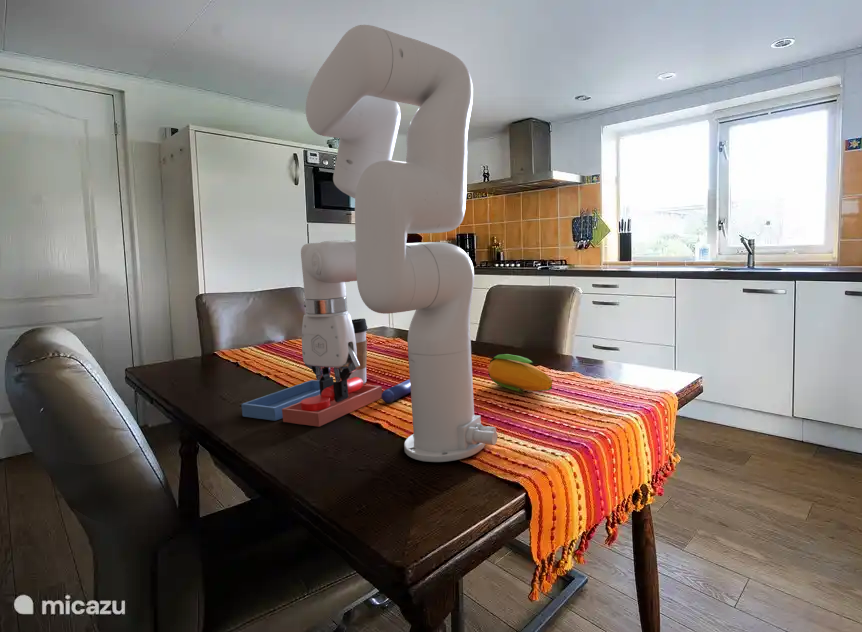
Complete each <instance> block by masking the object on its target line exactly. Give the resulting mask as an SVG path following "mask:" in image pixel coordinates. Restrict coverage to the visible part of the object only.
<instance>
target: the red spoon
mask: <svg viewBox="0 0 862 632" xmlns="http://www.w3.org/2000/svg"><path fill="white" fill-rule="evenodd" d="M363 385H364V384H363V381H362V379H361V378H359V377H354V378H351V379H348V380H347V386H348V394H350V393H352V392H355V391H357V390H359V389H361V388H362V386H363ZM334 396H335V395H334V387H333V385H332V386H330V387H327V388H325V389H324V390H323V391H322V393H321V396H314V397H309V398H306V399H303V400H302V401H301V409H302V410H304V411H318V410H323V409H326V408H328V407H329V406H330V405H331V403H330V401H333V400H335V398H334Z"/></svg>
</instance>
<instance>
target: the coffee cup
mask: <svg viewBox="0 0 862 632" xmlns="http://www.w3.org/2000/svg"><path fill="white" fill-rule="evenodd" d="M351 320H352V324H353V328H354V333H355V339H356V348H357V360H358V362H359V364H360V368H359V369H357V370H355V371H353V372H352V374H351V375H350V378H349V379H351V378H354V377H359V378H361V379H362V381H363V385H365V383H367V362H368V361H367V354H368V339H367V332H368V330H369V329H368V325H367V321H366V318H353V319H351ZM348 366H349V363H348ZM340 369H341V372H342V368H340ZM347 380H348V379H347Z"/></svg>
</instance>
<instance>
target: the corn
mask: <svg viewBox="0 0 862 632" xmlns="http://www.w3.org/2000/svg"><path fill="white" fill-rule="evenodd" d="M487 371H488V373H487V374H488V377H489V378H490V380H491V381H492V382H493V383H495V384H497V385H498V386H500V387H502V388H505V389H508V390H511V391H515V392H518V393H523V394H525V392H524V390H525V391H531V392H532V391H533V392H534V391H538V392H543V391H544V392H546V391H550V390H552V389H553V379H552V377H551V376H550V375H548V374H547V373H546V372H544V371H542V370H541V369H539V368H538V367H537V366H534V364H533V361H532V360H531V359H529V358H528V357H524V356H521V355H517V354H516V355H515V354H509V353H504V354H503V353H502V354H497V355H495V356H494V357H493V358H491V359H490V360H489V365H488V367H487ZM522 390H523V391H522Z"/></svg>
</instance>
